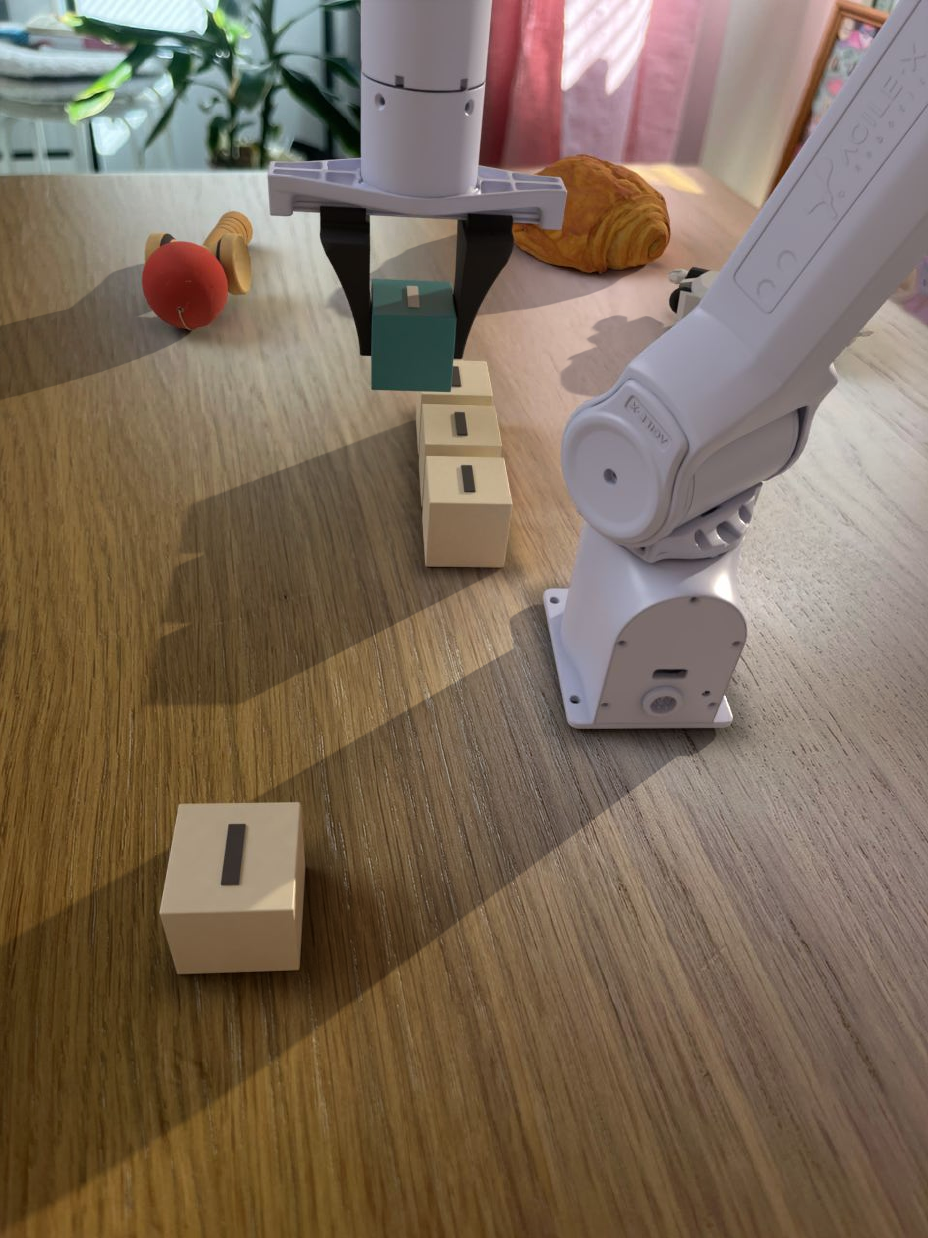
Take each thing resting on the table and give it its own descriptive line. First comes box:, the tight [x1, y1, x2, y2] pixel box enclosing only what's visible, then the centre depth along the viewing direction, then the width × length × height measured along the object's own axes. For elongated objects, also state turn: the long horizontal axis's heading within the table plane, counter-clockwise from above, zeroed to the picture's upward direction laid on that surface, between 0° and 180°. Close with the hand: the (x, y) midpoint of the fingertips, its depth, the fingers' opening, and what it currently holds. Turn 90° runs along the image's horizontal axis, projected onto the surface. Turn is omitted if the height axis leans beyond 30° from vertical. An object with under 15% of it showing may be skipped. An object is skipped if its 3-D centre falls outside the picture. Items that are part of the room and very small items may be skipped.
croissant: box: [512, 153, 672, 274], centre depth 85 cm, size 14×16×8 cm
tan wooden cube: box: [418, 404, 503, 508], centre depth 56 cm, size 4×4×4 cm
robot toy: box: [668, 266, 876, 348], centre depth 74 cm, size 12×4×15 cm
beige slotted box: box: [159, 801, 306, 975], centre depth 34 cm, size 4×4×4 cm
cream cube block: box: [415, 359, 494, 456], centre depth 60 cm, size 4×4×4 cm
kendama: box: [141, 210, 254, 331], centre depth 72 cm, size 8×6×18 cm
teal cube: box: [370, 278, 457, 392], centre depth 51 cm, size 4×4×4 cm
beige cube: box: [421, 456, 513, 568], centre depth 52 cm, size 4×4×4 cm
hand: (411, 348), depth 52 cm, fingers closed on teal cube, 4 cm apart
